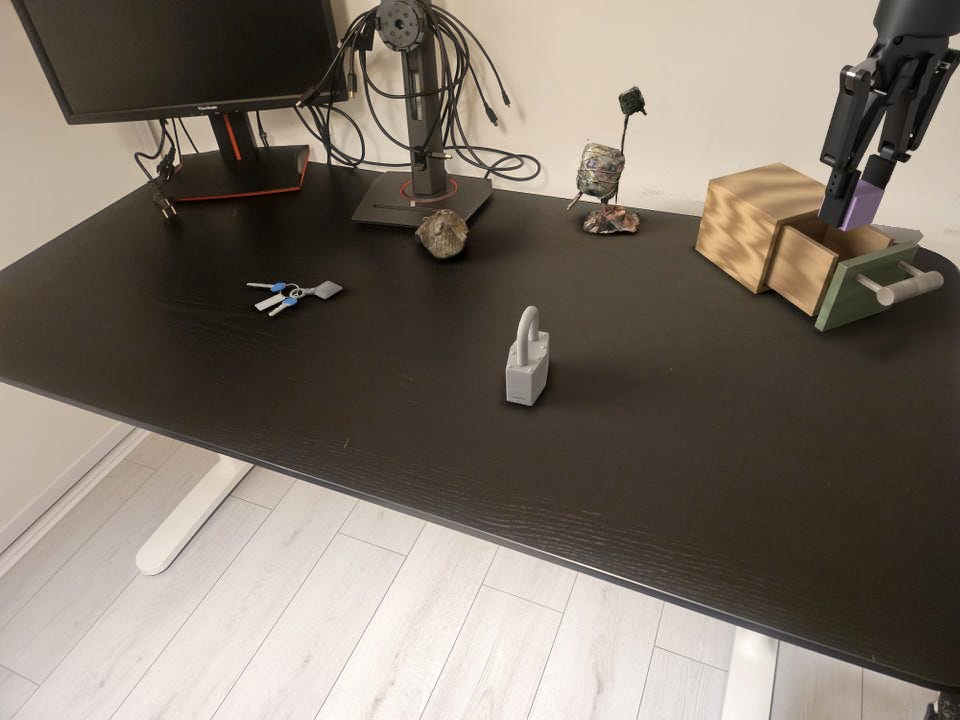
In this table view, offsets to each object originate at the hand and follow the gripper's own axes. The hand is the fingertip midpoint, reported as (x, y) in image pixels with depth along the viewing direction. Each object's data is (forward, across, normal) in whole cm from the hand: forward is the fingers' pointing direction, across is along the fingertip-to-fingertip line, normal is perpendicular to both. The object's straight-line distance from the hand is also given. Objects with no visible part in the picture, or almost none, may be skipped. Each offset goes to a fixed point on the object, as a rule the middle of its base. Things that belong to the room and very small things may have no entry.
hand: (845, 217), depth 70 cm
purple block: (0, 0, 0) cm, 0 cm away
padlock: (+12, -39, +1) cm, 41 cm away
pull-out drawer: (+11, 0, -3) cm, 11 cm away
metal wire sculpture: (+12, -13, +29) cm, 34 cm away
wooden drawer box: (+12, 0, +10) cm, 16 cm away
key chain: (+12, -62, +30) cm, 70 cm away
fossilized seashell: (+12, -38, +34) cm, 52 cm away
